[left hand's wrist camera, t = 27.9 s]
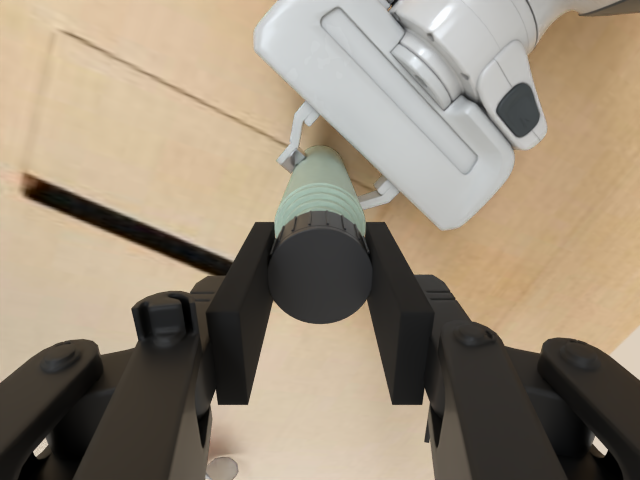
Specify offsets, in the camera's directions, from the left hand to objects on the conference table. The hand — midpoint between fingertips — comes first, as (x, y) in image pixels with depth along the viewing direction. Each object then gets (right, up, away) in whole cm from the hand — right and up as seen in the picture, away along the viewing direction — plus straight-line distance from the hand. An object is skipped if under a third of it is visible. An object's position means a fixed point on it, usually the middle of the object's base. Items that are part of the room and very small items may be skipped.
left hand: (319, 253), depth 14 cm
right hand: (-1, +4, +13) cm, 14 cm away
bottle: (0, +7, +19) cm, 20 cm away
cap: (0, -1, -2) cm, 2 cm away
